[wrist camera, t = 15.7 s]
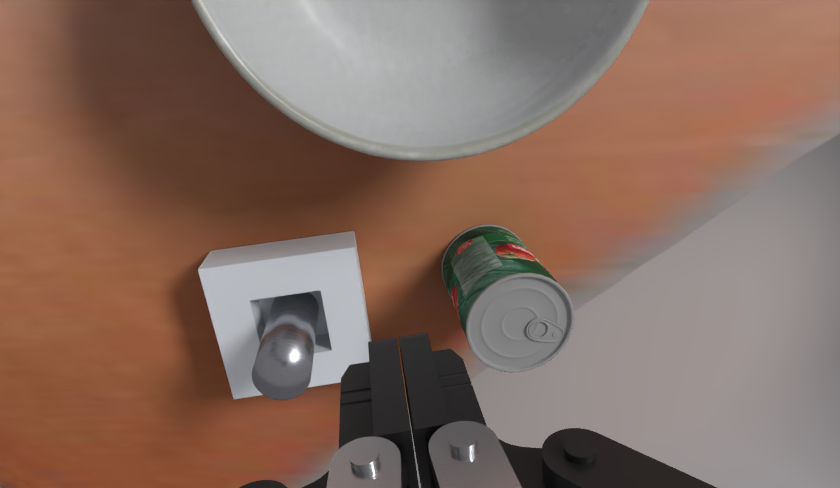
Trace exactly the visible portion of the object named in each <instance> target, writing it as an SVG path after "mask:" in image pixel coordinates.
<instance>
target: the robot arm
mask: <svg viewBox="0 0 840 488" xmlns="http://www.w3.org/2000/svg"><path fill="white" fill-rule="evenodd" d="M399 343H400V351H401V358H402V365H403V373H404V380H405V387H406V394H407V401H408V408H409V415H410V421H411V427H412V433H413V439H414V446H415V452H416V458H417V464H418V471H419V476H420V483H421V488H716V487H714V486H712V485H710V484H708V483H705V482H703V481H701V480H699V479H696V478H695V477H692V476H690V475H688V474H686V473H684V472H681V471H679V470H677V469H675V468H673V467H670V466H668V465H666V464H664V463H662V462H660V461H657V460H655V459H653V458H651V457H649V456H646V455H644V454H642V453H640V452H638V451H635V450H633V449H631V448H629V447H627V446H625V445H622V444H620V443H618V442H616V441H614V440H611V439H609V438H607V437H605V436H603V435H601V434H598V433H596V432H593V431H590V430H586V429H580V428H571V429H564V430H560V431H557V432H555V433H553V434H551V435H550V436H549V437H548V438H547V439H546V440H545V442H544V444H543V446H542V448H529V447H519V446H515V445H510V444H508V443H505V442H503V441H501V440H499V439H498V438H497V436H496V435H495V433H494V432H493V431H492V430H491V429H490V428H488V427H487V426H486V423H485V420H484V417H483V415H482V412H481V409H480V406H479V403H478V401H477V398H476V395H475V392H474V390H473V387H472V385H471V381H470V378H469V376H468V374H467V370H466V367H465V364H464V362H463V359H462V358H461V357H460V356H458V355H457V354H456V353H455V352H454V351H452V350H451V349H446V350H440V351H433V352H432V350H431V347H430V343H429V339H428V335H427V333H421V334H415V335H408V336H402V337H399ZM368 350H369V362H364V363H358V364H352V365H349V367H348V368H347V370H346V371H345V373H344V374H343V376H342V377H341V395H340V429H339V450H338V451H337V452H336V453H335V455H334V456H333V458H332V460H331V463H330V467H329V471H328V472H327V473H326V474H325V475H323V476H322V477H321V478H320V479H318V480H316V481H315V482H313V483H311V484H309V485H307V486H305V487H302V488H419V486H418V479H417V471H416V464H415V457H414V449H413V442H412V435H411V428H410V422H409V415H408V409H407V403H406V396H405V390H404V384H403V377H402V371H401V365H400V358H399V352H398V345H397V339H396V338H390V339H383V340H377V341H370V342H368ZM240 488H287V487H286V486H285V485H283V484H282V483H280V482H277V481H273V480H261V481H255V482H251V483H249V484H246V485H244V486H242V487H240Z"/></svg>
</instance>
